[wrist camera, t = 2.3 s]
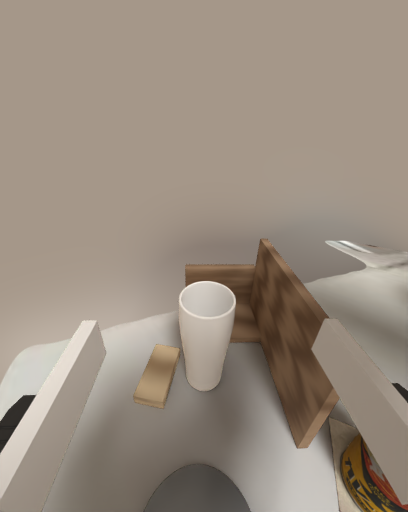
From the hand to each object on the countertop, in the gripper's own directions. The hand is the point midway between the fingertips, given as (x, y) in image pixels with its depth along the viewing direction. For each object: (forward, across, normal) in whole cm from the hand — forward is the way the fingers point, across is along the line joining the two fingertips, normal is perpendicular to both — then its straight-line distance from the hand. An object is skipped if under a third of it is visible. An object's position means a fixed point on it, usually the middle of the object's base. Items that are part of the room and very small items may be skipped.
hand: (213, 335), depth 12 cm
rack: (+13, +5, -20) cm, 25 cm away
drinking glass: (+10, +1, -21) cm, 23 cm away
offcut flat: (+10, -6, -21) cm, 24 cm away
